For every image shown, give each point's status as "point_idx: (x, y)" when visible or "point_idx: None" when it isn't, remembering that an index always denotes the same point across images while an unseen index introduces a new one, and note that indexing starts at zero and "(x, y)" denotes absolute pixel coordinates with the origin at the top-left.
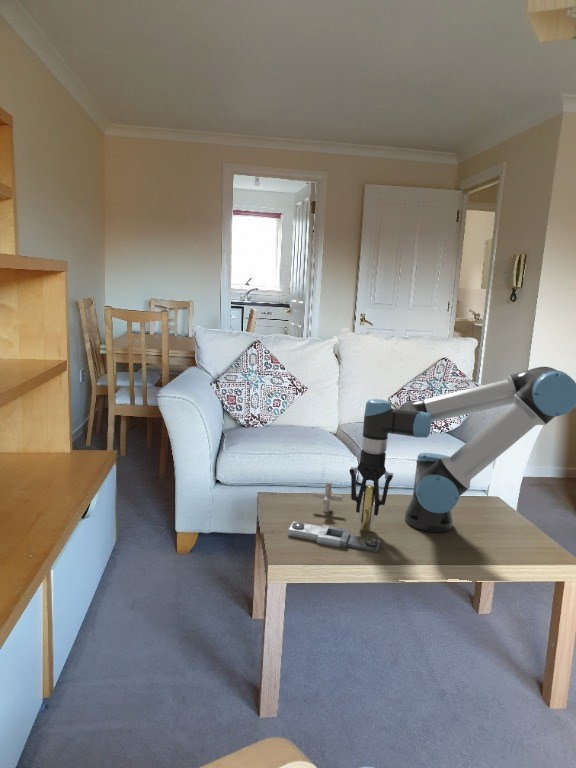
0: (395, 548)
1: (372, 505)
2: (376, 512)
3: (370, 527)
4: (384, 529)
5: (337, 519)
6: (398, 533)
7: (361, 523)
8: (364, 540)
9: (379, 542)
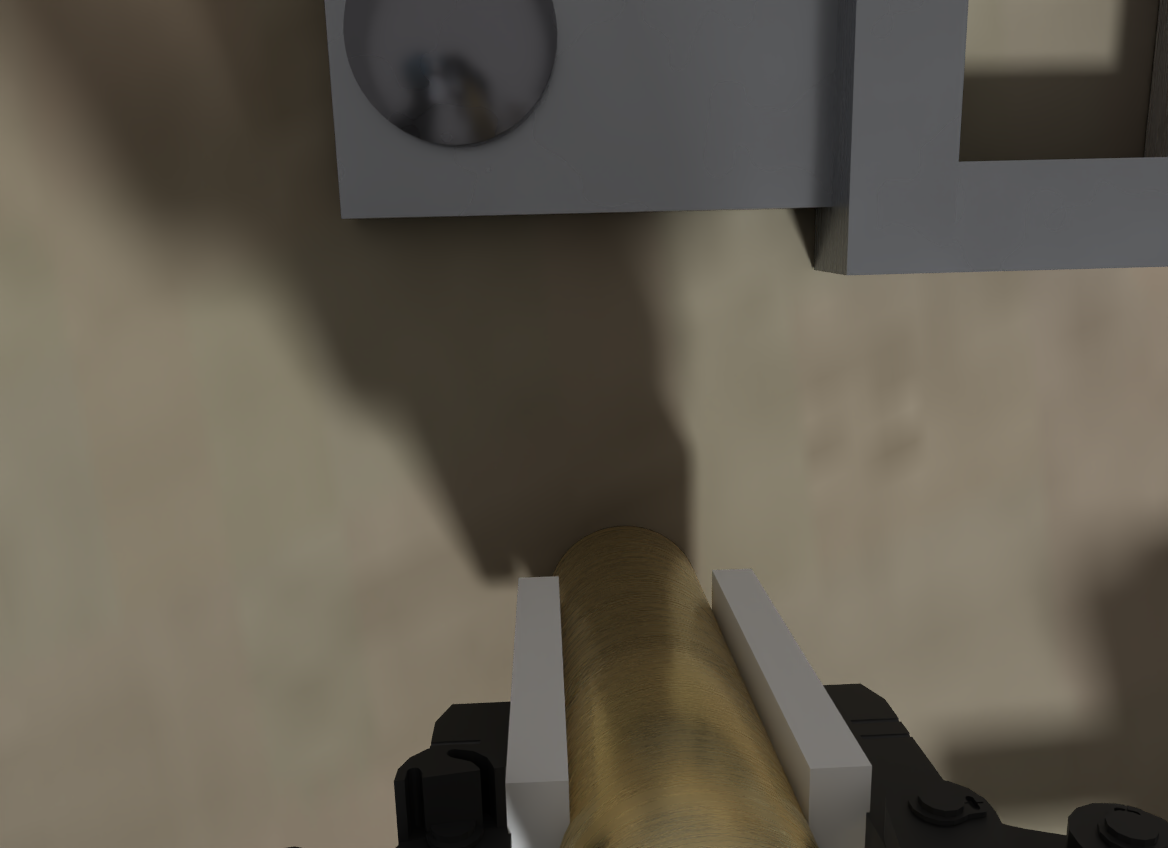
0: (99, 156)
1: (567, 807)
2: (464, 739)
3: None
4: (366, 723)
5: (1043, 745)
6: (154, 684)
7: (704, 596)
8: (579, 95)
9: (338, 133)
